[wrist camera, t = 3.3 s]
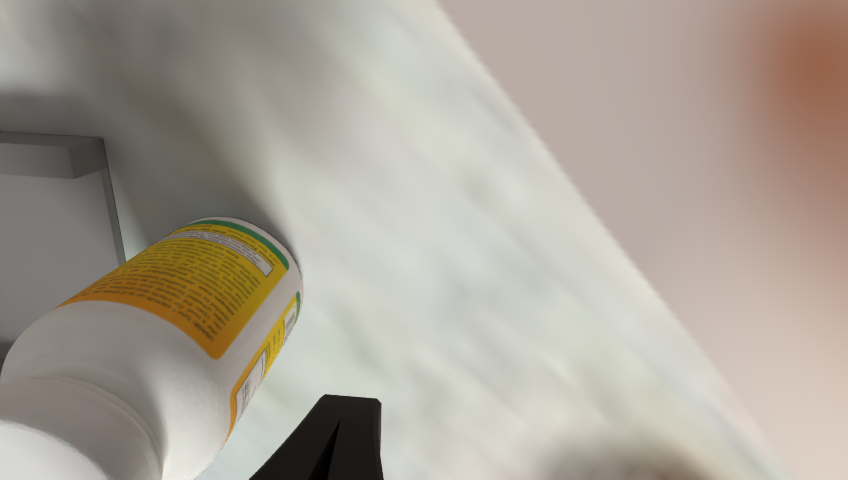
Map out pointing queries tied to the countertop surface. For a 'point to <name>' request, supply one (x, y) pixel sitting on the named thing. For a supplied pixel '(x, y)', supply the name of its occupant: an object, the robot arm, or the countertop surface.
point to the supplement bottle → (149, 359)
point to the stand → (52, 225)
